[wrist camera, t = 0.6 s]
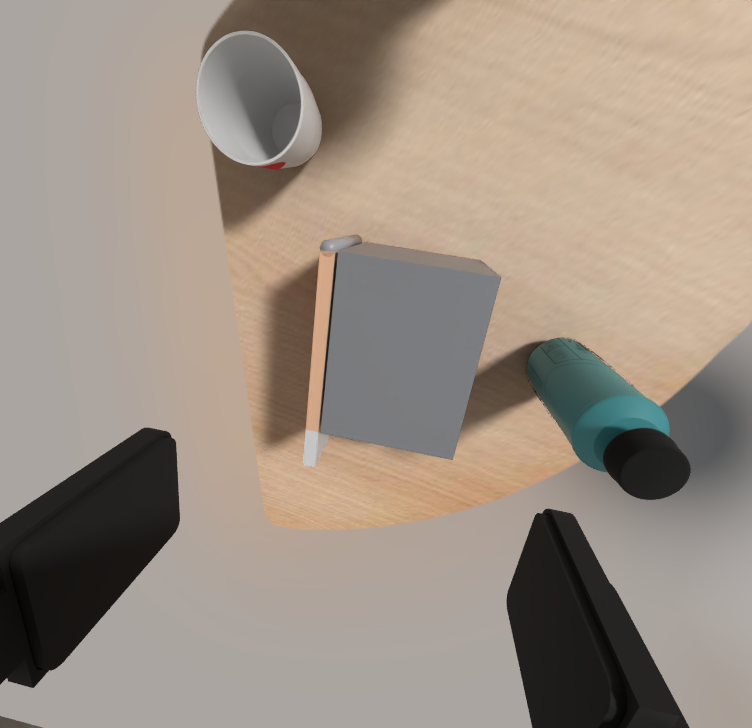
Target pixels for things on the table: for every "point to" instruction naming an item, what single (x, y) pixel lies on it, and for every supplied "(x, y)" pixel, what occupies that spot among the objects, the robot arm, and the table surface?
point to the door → (322, 345)
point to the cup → (257, 103)
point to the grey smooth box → (405, 346)
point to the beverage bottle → (607, 420)
